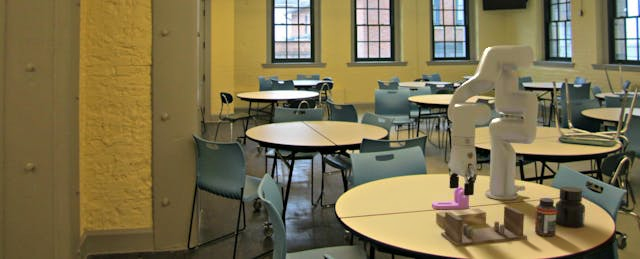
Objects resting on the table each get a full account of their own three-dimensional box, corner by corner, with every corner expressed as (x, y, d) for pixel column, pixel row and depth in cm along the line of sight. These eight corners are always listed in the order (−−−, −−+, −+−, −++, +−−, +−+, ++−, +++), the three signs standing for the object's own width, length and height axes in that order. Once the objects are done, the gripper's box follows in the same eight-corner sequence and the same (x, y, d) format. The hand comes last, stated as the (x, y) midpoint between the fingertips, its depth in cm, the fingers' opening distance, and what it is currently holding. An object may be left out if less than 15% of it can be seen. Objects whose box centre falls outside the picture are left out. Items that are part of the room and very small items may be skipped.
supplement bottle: (531, 231, 165) (532, 197, 163) (548, 230, 165) (550, 196, 163) (540, 237, 159) (542, 202, 157) (559, 236, 159) (561, 201, 158)
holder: (507, 227, 168) (508, 205, 167) (526, 238, 158) (528, 214, 157) (441, 235, 162) (441, 211, 161) (456, 246, 152) (457, 221, 151)
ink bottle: (591, 227, 167) (593, 192, 165) (567, 229, 165) (569, 193, 164) (570, 218, 177) (572, 184, 175) (548, 220, 175) (550, 186, 173)
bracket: (463, 204, 195) (464, 186, 194) (468, 208, 190) (469, 190, 189) (430, 205, 194) (430, 187, 193) (434, 209, 189) (434, 191, 188)
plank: (477, 219, 178) (478, 208, 177) (485, 223, 173) (486, 212, 172) (436, 223, 174) (436, 212, 173) (443, 228, 169) (443, 216, 169)
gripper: (487, 144, 162) (485, 197, 164) (460, 137, 179) (458, 185, 181) (466, 145, 160) (464, 198, 162) (440, 138, 177) (439, 186, 179)
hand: (461, 191), depth 171 cm, fingers open, 9 cm apart
